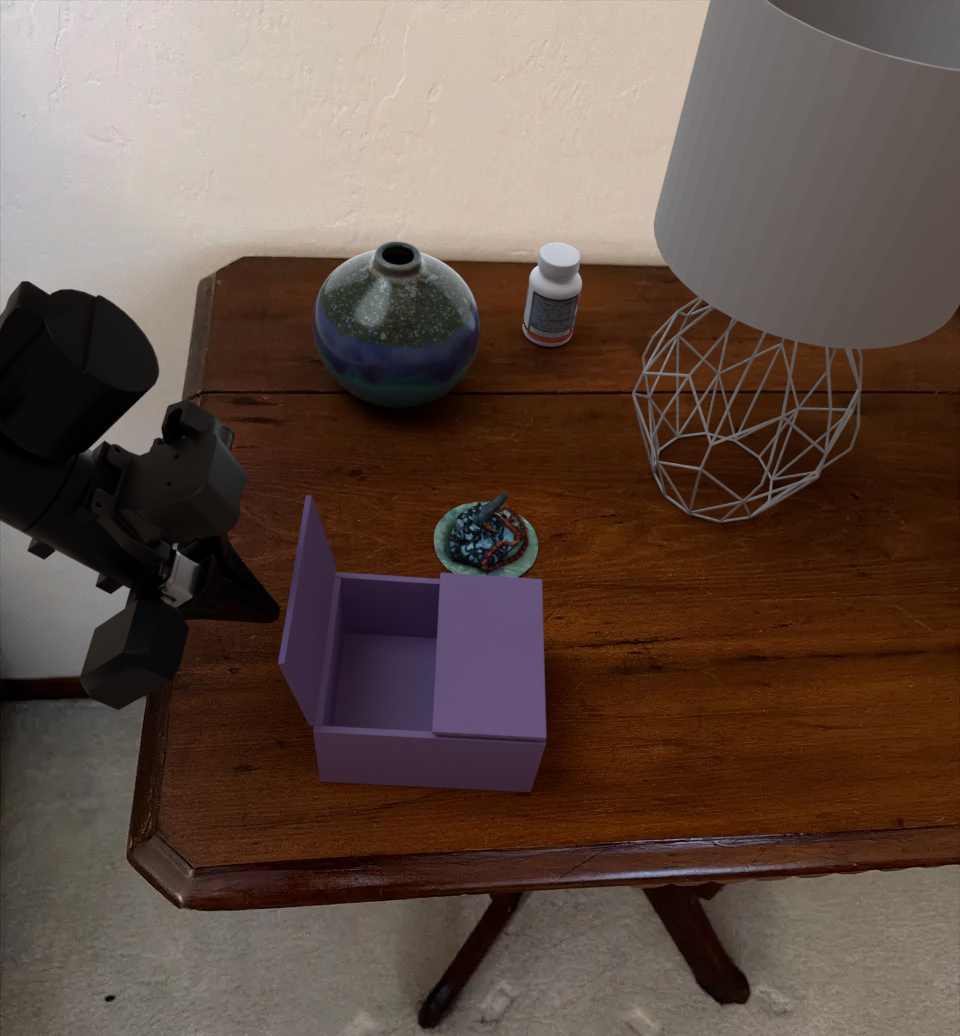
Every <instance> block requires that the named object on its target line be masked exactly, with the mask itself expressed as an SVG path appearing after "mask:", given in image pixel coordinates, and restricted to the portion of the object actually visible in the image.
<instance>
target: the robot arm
mask: <svg viewBox="0 0 960 1036" xmlns="http://www.w3.org/2000/svg"><path fill="white" fill-rule="evenodd" d="M159 376H160V365H159V358H158V356H157V354H156V351H155V349H154V346H153V345H152V343H151V342H150V339H149V338H148V336H147V335H146V333H145V332H144V330H142V328H141V327H140V326H139V324H138V323H137V322H136V321H135V320H134V319H133V318H132V317H131V316H129V315H128V313H127V312H125V311H124V310H123V309H122V308H121V307H119V306H118V305H117V304H115V303H114V302H113V301H112V300H110V299H108V298H106V297H105V296H103V295H100V294H97V295H96V296H95V295H93V294H91V293H88V292H86V291H83V290H78V289H74V288H62V289H61V288H60V289H58V290H56V291H53V292H51V293H48V292H47V291H45V290H43V289H41V288H40V287H39V286H37V285H36V284H34V283H32V282H31V281H29V280H23V281H22V280H21V282H20V283H18V285H17V286H16V287H15V289H14V290H13V291H12V292H11V294H10V296H9V297H8V298H7V302H6V305H5V307H4V309H3V311H2V312H1V314H0V522H1V523H4V524H5V525H7V526H9V527H11V528H13V529H15V530H17V531H19V532H20V533H23V534H24V535H26V536H28V537H30V538H31V540H30V541H29V545H28V548H27V550H26V551H27V552H28V553H30V554H32V555H34V556H36V557H37V558H40V559H42V560H43V561H45V560H47V559H48V558H49V557H51V556H52V554H54V553H56V552H58V553H60V554H62V555H64V556H66V557H68V558H70V559H71V560H73V561H75V562H77V563H79V564H81V565H83V566H85V567H87V568H89V569H90V570H92V571H94V572H96V573H97V574H98V576H97V579H96V582H95V586H94V587H95V588H97V589H100V590H101V591H104V592H105V593H108V594H109V595H112V594H114V593H115V592H117V591H118V590H119V589H121V588H122V587H125V588H127V589H129V592H128V595H127V599H126V602H125V606H124V608H123V609H122V610H120V611H119V612H117V613H115V614H114V615H113V616H111V617H110V618H108V619H107V620H105V621H104V622H102V623H101V624H99V625H98V626H97V627H95V628H94V630H93V633H92V636H91V640H90V643H89V646H88V649H87V651H86V652H87V653H86V656H85V659H84V662H83V666H82V669H81V672H80V675H79V678H78V680H79V682H80V684H81V686H82V688H83V689H84V691H85V693H86V695H88V696H89V697H90V699H92V700H93V701H96V702H98V703H101V704H103V705H105V706H107V707H110V708H112V709H114V710H117V711H120V710H123V709H124V708H126V707H127V706H129V705H131V704H133V703H134V702H136V701H138V700H140V699H141V698H143V697H145V696H147V695H148V694H150V693H153V692H154V691H155V690H157V689H159V688H160V687H163V686H165V685H166V684H168V683H170V682H171V681H172V680H173V678H174V677H175V675H176V674H177V672H178V671H179V670H180V667H181V663H182V659H183V655H184V652H185V646H186V642H187V638H188V633H189V630H190V627H189V625H188V623H187V621H194V620H195V621H196V620H197V621H198V620H203V621H204V620H205V621H223V622H237V623H253V624H266V625H270V624H272V623H274V622H276V621H279V619H280V614H281V609H282V608H281V606H280V605H279V603H277V602H276V600H275V599H274V597H273V596H272V595H271V594H270V593H269V591H268V590H267V589H266V588H265V587H264V585H263V584H262V583H261V582H260V580H259V579H258V578H257V576H255V574H254V573H253V572H252V571H251V569H250V567H248V566H247V565H246V563H245V562H244V560H243V559H242V558H241V556H240V555H239V553H238V552H237V551H236V549H235V548H234V546H233V544H232V543H231V542H230V539H229V533H228V532H230V531H231V530H232V529H234V527H235V526H236V525H237V523H238V522H239V520H240V516H241V500H242V496H243V493H244V486H246V485H248V480H249V474H248V471H246V469H245V468H244V466H243V465H242V464H241V463H240V462H239V460H238V459H237V458H236V457H235V456H234V454H233V453H232V448H233V444H234V441H235V435H236V433H235V432H234V430H233V429H232V428H231V427H229V426H226V425H224V424H223V423H222V422H221V420H220V419H219V418H218V416H216V415H215V414H213V413H212V412H210V411H209V410H206V409H205V408H203V407H201V406H200V405H198V404H196V403H195V402H193V401H192V400H190V399H184V400H181V401H177V402H174V403H171V404H168V406H167V407H166V411H165V413H164V417H163V419H162V423H161V427H160V429H161V430H160V431H161V435H162V437H156V438H154V439H153V442H152V445H151V446H150V447H149V450H148V452H145V453H142V454H138V453H135V452H132V451H129V450H127V449H126V448H124V447H122V446H121V445H120V444H117V443H112V444H111V443H109V442H108V441H106V439H105V440H103V441H102V442H100V444H99V445H97V446H96V447H95V448H94V449H93V450H91V449H90V448H91V447H93V446H94V445H95V444H96V443H97V442H98V441H99V440H100V439H101V438H102V437H103V436H104V435H105V434H106V433H107V432H108V431H109V430H110V429H111V428H112V427H113V426H114V425H115V424H116V423H117V422H118V421H119V420H120V419H121V418H123V416H125V414H127V412H128V411H130V410H131V408H132V407H134V405H136V404H137V403H138V402H139V401H140V400H141V399H142V398H143V397H144V396H145V395H146V394H147V393H148V392H149V391H150V390H151V389H152V388H153V387H154V386H155V385H156V383H157V381H158V379H159Z"/></svg>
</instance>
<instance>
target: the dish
mask: <svg viewBox="0 0 960 1036" xmlns="http://www.w3.org/2000/svg"><path fill="white" fill-rule="evenodd" d="M509 497H510V494H509V493H508V492H506V493H505V492H501V493H499V494H498V495H497V496H496V497H495V498H493V500H492V501H473V502H471V503H463V504H461V505H458V506H456V507H454V508H451V510H449V511H448V512H446V513H445V514H444V515H443V516H442V518H441V519H440V520H439V521H438V522H437V524H436V526H435V529H434V533H433V546H434V550H435V553H436V556H437V558H438V559H439V561H440V562H441V563H442V565H443V566H444V567H445V568H446V569H447V570H448V571H450V573H454V574H470V575H485V576H500V577H515V578H520V576H522V575H523V574H525V573H526V572H527V571H528V570H529V569H530V568H531V567H532V566H534V565H533V564H534V563H535V562H536V558H537V556H538V552H539V541H538V537H537V534H536V531H535V529H534V528H533V526H532V524H531V523H530V522H529V521H528V520H527V519H526V518H525V517H524V516H522V515H521V514H520V513H519V512H517V511H516V508H514V507H513V506H511V507H510V506H509V505H508V504H507V503H506V501H507V499H508V498H509Z"/></svg>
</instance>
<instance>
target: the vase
mask: <svg viewBox="0 0 960 1036" xmlns="http://www.w3.org/2000/svg"><path fill="white" fill-rule="evenodd" d="M481 327H482V326H481V315H480V309H479V307H478V303H477V300H476V297H475V296H474V294H473V291H471V288H470V287H469V285H468V284H467V282H466V281H465V280H464V279H463V278H462V277H461V275H460V274H458V272H457V271H456V270H454V269H453V268H452V267H450V266H449V265H448V264H446V263H444V261H441V260H439V259H438V258H436V257H434V256H431V255H429V254H427V253H424V252H421V251H420V250H419V249H418V248H417V247H416V245H415V246H414V245H413V244H411V243H408V242H405V241H398V240H397V241H395V240H393V241H387V242H384V243H382V244H381V245H379V246H378V247H377V248H376V249H373V250H369V251H366V252H363V253H360V254H357V255H354V256H353V257H351V258H349V259H347V260H345V261H344V262H342V263H341V264H340V265H338V266H337V267H336V268H335V269H334V270H333V271H332V272H330V274H329V275H328V276H327V278H326V279H325V281H323V283H322V284H321V286H320V288H319V290H318V292H317V295H316V297H315V300H314V303H313V307H312V316H311V328H312V336H313V341H314V345H315V348H316V351H317V353H318V356H319V358H320V361H321V363H322V364H323V366H324V367H325V369H326V370H327V372H328V374H329V375H330V376H331V377H332V378H333V380H334V381H335V382H336V383H337V384H338V385H339V386H340V387H341V388H342V389H344V391H346V392H347V393H349V394H350V395H352V396H354V397H355V398H356V399H359V400H361V401H363V402H366V403H368V404H371V405H374V406H378V407H383V408H389V409H391V408H392V409H410V408H415V407H421V406H424V405H428V404H431V403H433V402H435V401H436V400H439V399H441V398H442V397H444V396H445V395H447V394H448V393H450V392H451V391H452V390H453V389H454V388H455V387H457V386H458V385H459V384H460V382H461V381H462V380H463V378H464V377H465V376H466V375H467V374H468V373H469V371H470V369H471V367H472V365H473V363H474V360H475V358H476V356H477V353H478V349H479V345H480V340H481V334H482V333H481V329H482V328H481Z"/></svg>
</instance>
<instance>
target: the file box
mask: <svg viewBox="0 0 960 1036" xmlns="http://www.w3.org/2000/svg"><path fill="white" fill-rule="evenodd" d="M543 599H544V598H543V579H542V578H528V577H527V578H526V577H517V578H515V577H500V576H485V575H470V574H454V573H453V572H440V573H439V578H434V577H433V578H432V577H419V576H417V577H416V576H402V575H389V574H388V575H386V574H373V573H372V574H371V573H359V572H358V573H356V572H344V571H343V572H342V571H341V572H340V571H336V573H335V580H334V588H333V595H332V603H331V610H330V618H329V625H328V633H327V640H326V648H325V655H324V663H323V670H322V678H321V685H320V693H319V701H318V708H317V716H316V723H315V726H313V730H312V732H313V739H314V747H315V754H316V762H317V768H318V769H317V770H318V777H319V782H320V783H339V784H358V785H375V786H376V785H379V786H395V787H396V786H399V787H413V788H414V787H416V788H417V787H418V788H435V789H436V788H437V789H452V790H453V789H457V790H475V791H494V792H495V791H496V792H513V793H531V792H532V789H533V786H534V784H535V780H536V777H537V774H538V771H539V767H540V765H541V761H542V757H543V755H544V753H545V748H546V745H547V707H546V705H547V704H546V674H545V673H546V671H545V670H546V669H545V635H544V634H545V632H544V600H543Z"/></svg>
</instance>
